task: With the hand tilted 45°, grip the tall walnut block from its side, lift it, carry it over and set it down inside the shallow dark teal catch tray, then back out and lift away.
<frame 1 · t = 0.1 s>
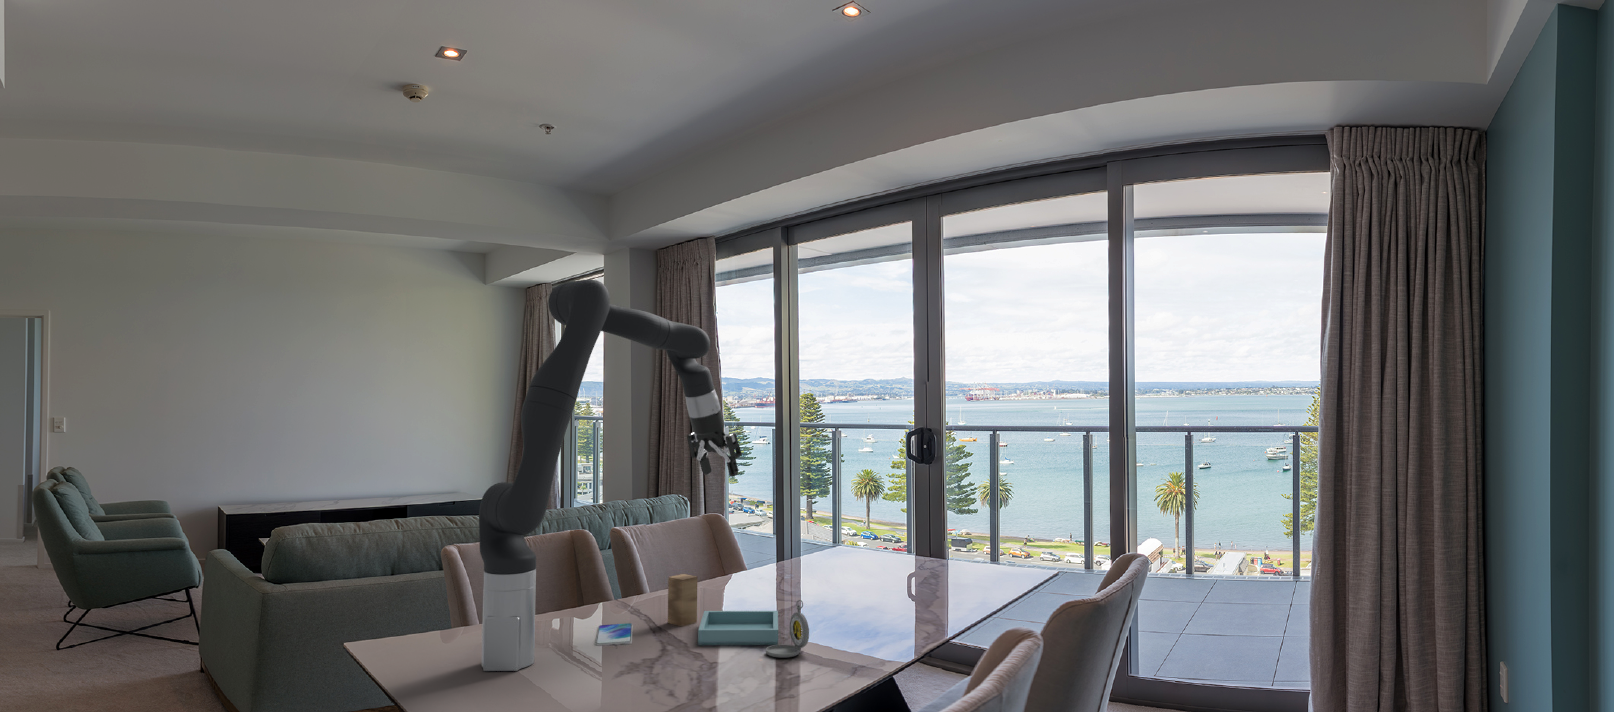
hand: (720, 474, 208), 31 cm above the table, tool tilted 20°, fingers open, 8 cm apart
pocket watch: (788, 654, 170), on the table
smartphone: (614, 637, 183), on the table
walnut block: (682, 622, 193), on the table
catch tray: (739, 634, 184), on the table
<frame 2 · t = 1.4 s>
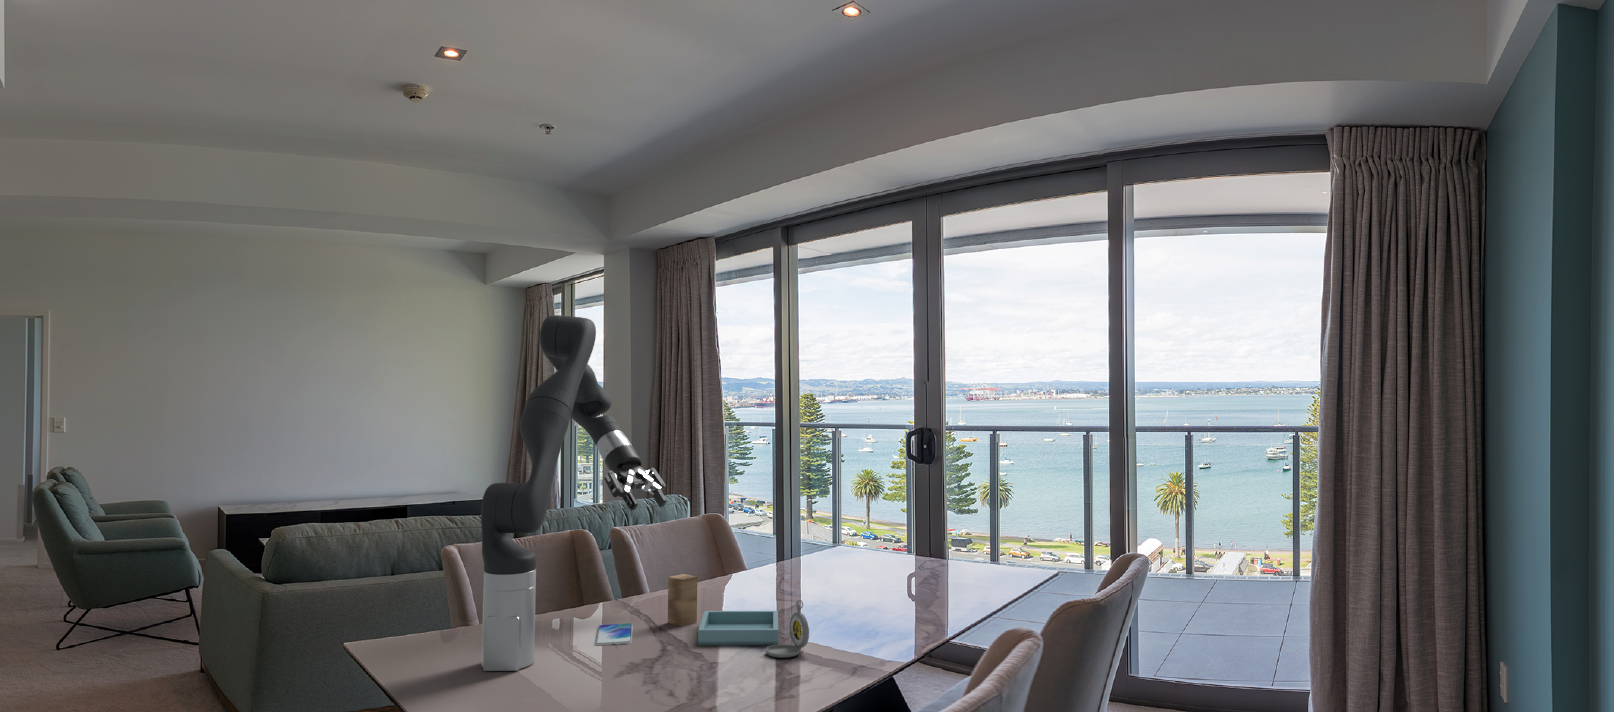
hand: (649, 506, 201), 24 cm above the table, tool tilted 45°, fingers open, 8 cm apart
nothing on the table moved.
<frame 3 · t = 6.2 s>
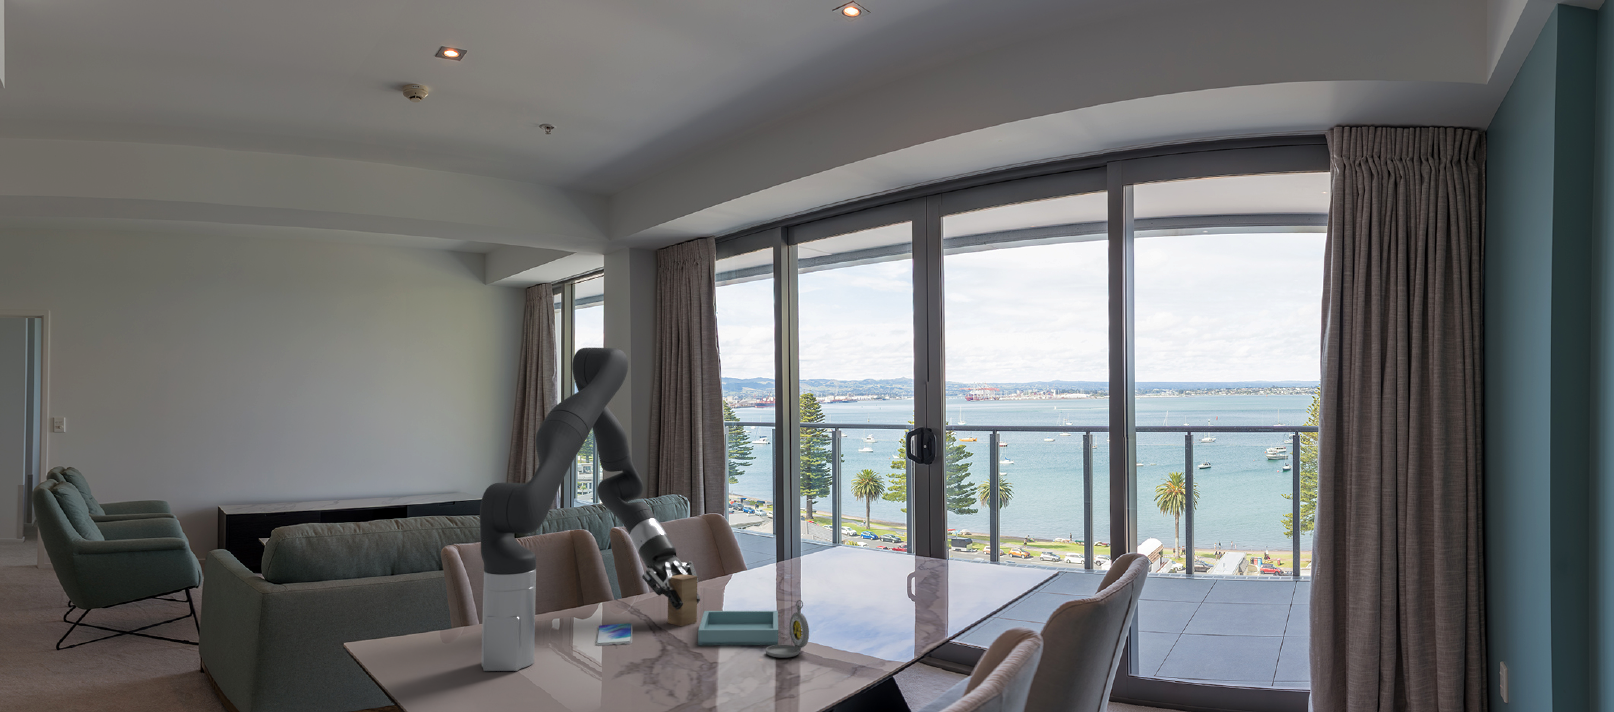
hand: (688, 604, 192), 4 cm above the table, tool tilted 45°, fingers closed on walnut block, 4 cm apart
walnut block: (682, 622, 193), on the table, touching gripper
everything else where it was.
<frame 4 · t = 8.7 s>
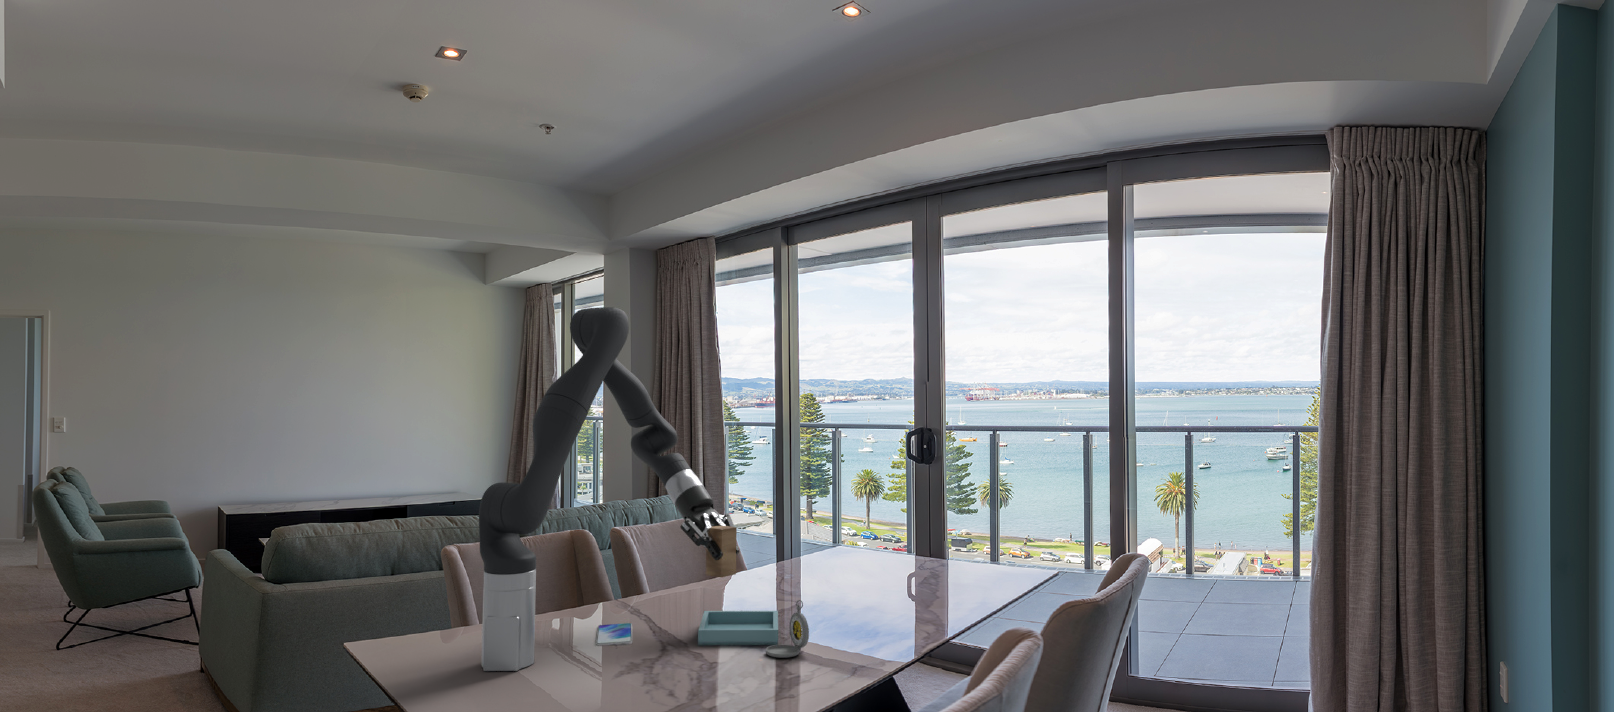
hand: (728, 555, 187), 16 cm above the table, tool tilted 45°, fingers closed on walnut block, 4 cm apart
walnut block: (721, 574, 188), point 12 cm above the table, touching gripper
everything else where it was.
when the fingers open (5 cm above the table, at t = 11.5 s): walnut block stays where it is, resting on catch tray.
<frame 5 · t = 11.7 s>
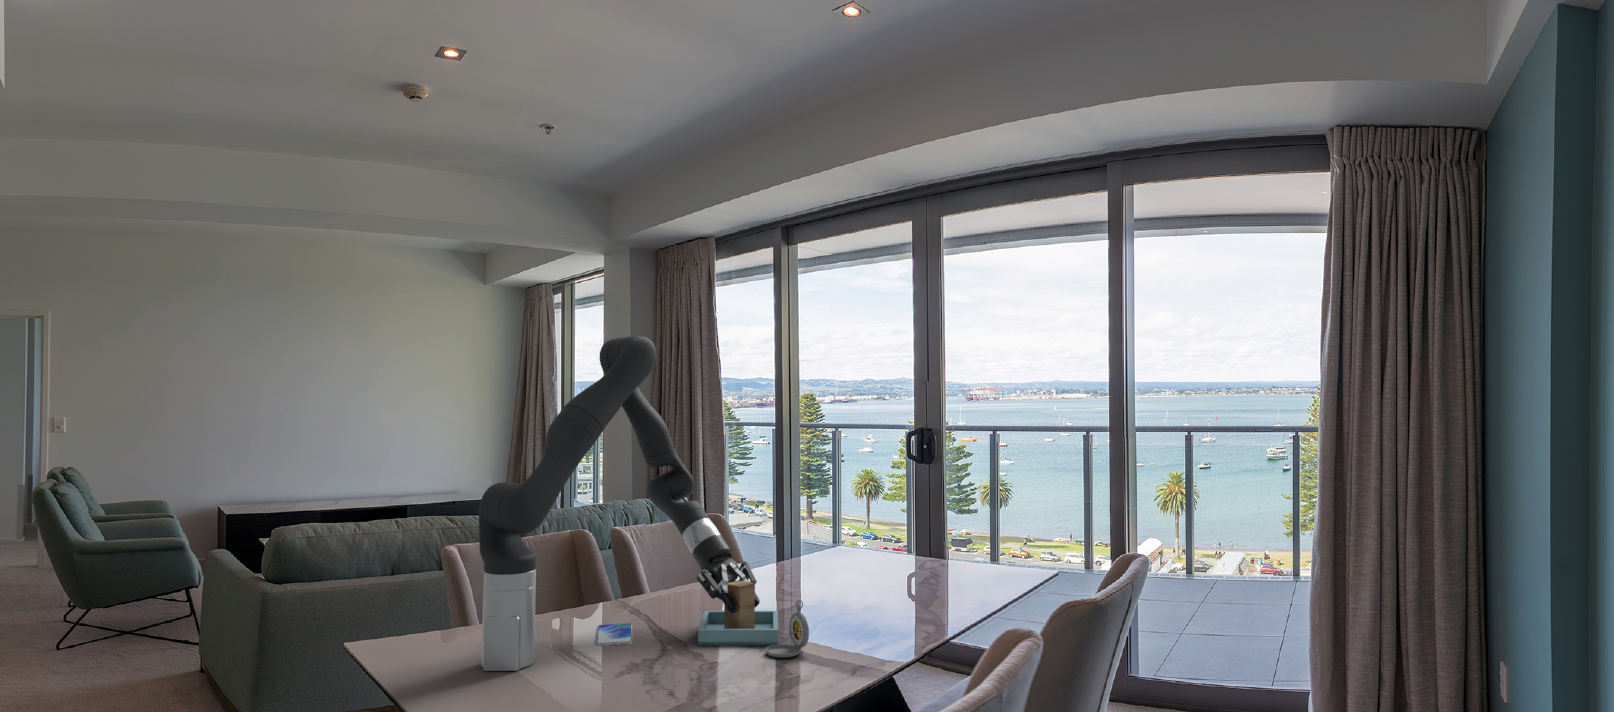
hand: (746, 607, 183), 6 cm above the table, tool tilted 45°, fingers open, 6 cm apart
walnut block: (739, 631, 184), point 1 cm above the table, touching catch tray
everything else where it was.
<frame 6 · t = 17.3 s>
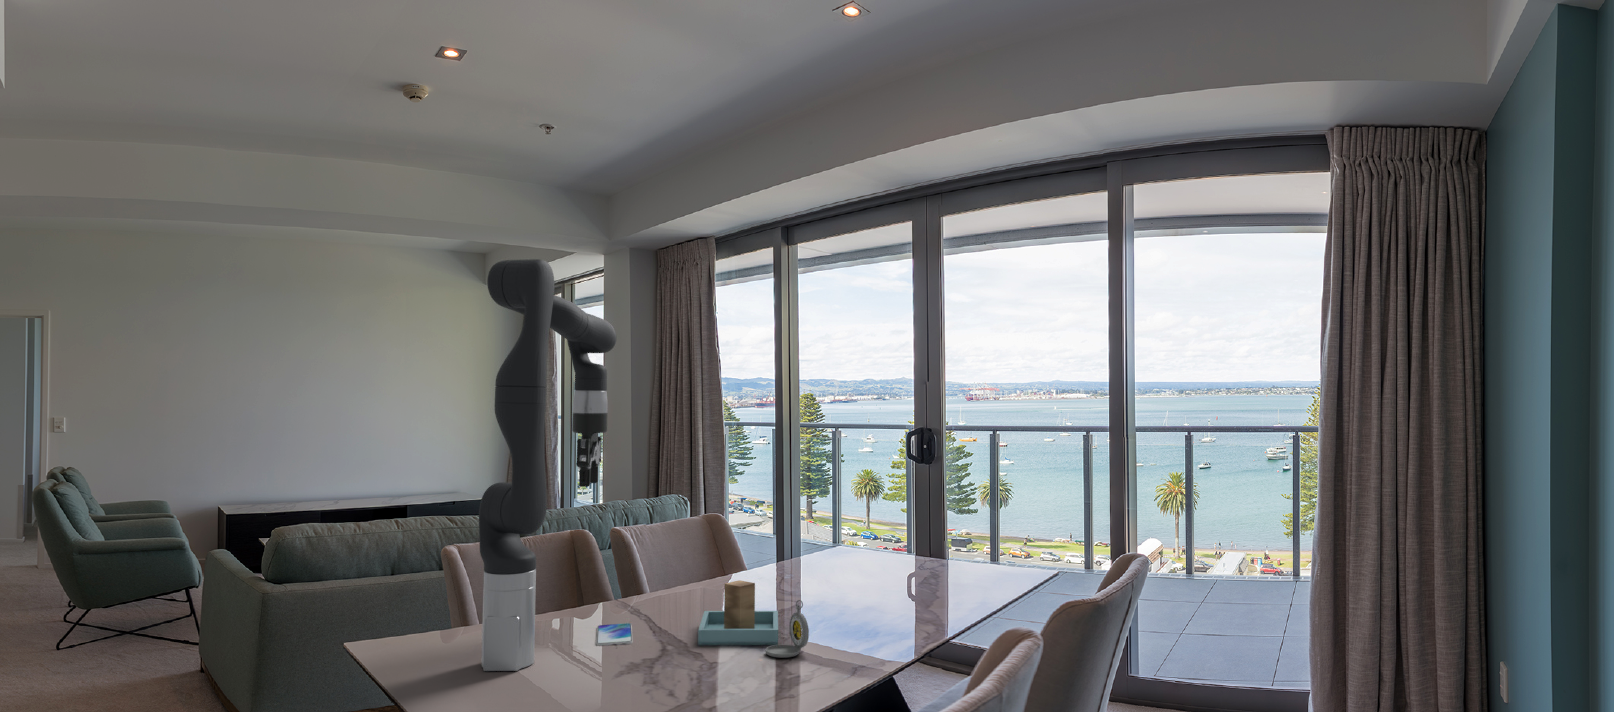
hand: (588, 484, 194), 30 cm above the table, tool pointing down, fingers open, 8 cm apart
nothing on the table moved.
at the end: walnut block inside the target area on the catch tray (0.1 cm from its centre), point 0.6 cm above the catch tray's base; walnut block tilted 0°; the gripper is holding nothing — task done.
